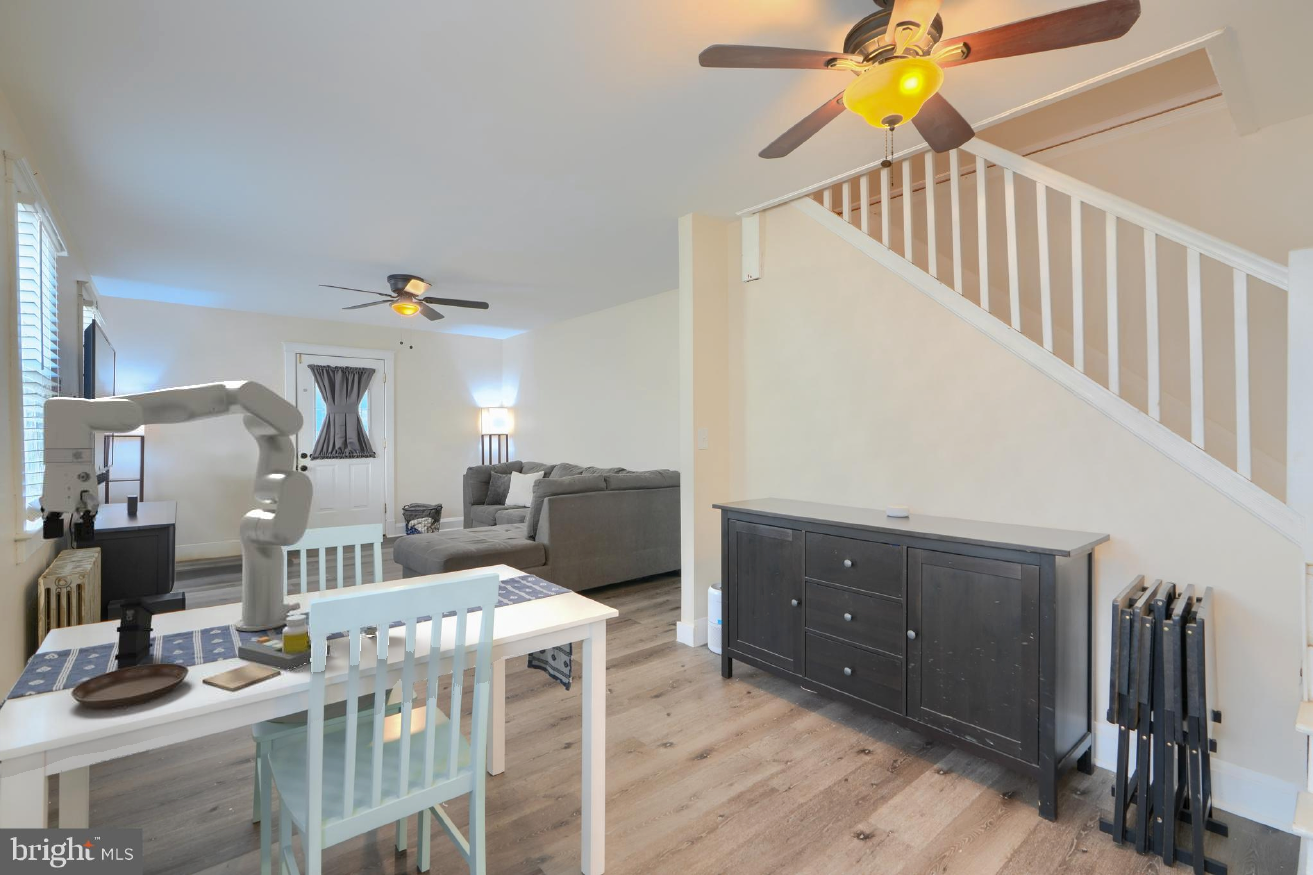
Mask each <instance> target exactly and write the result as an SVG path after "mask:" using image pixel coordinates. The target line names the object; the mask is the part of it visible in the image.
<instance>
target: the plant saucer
mask: <svg viewBox="0 0 1313 875" xmlns="http://www.w3.org/2000/svg"><path fill="white" fill-rule="evenodd" d="M188 674H189V668H188V667H187V666H185V665H183V664H180V663H171V662H170V663H168V662H166V663H163V662H162V663H149V664H148V663H147V664H141V665H140V664H139V665H138V666H133V667H128V668H124V669H119V670H118V669H117V670H112V671H109V672H105V673H102V674H99V675H96V676H94V677H91V678H89V679H86V680H85V681H82V682H81V683H79V684H78V685H76V686H75V687H74V688H72V691H71V692H70V695H71V697H72V698H73V699H74V700H75V701H76V702H78V703H79V704H81V705H82V706H84V707H86V708H89V709H90V710H91V709H92V710H113V709H114V708H115V709H122V708H127V707H132V706H135V705H141V704H144V703H148V702H151V701H154V700H156V699H159V698H163V697H164V696H166V695H168V694H170V693H171V692H173V691H175V690H176V688H178V687H179V686H180V685H181V683H182V682H183V681H184V680H185V678H186V676H188Z"/></svg>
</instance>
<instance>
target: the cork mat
mask: <svg viewBox="0 0 1313 875" xmlns="http://www.w3.org/2000/svg"><path fill="white" fill-rule="evenodd" d="M279 673H280V674H281V670H279V669H274V668H270V667H267V666H264V665H263V666H262V665H259V664H255V663H248V664H245V665H241V666H239V667H236V668H233V669H231V670H227V671H224V672H222V673H221V672H220V673H219V674H215V675H213V676H209V677H206V678H203V679H202V681H201V682H202V683H203V684H207V685H209V686H210V685H211V686H212V687H213V686H214V687H217V688H221V689H223V690H226V691H231V692H234V691H236V690H239V688H240V689H241V688H245V687H247V686H250V685H253V684H256V683H258V681H259V682H261V681H264V680H267V679H269V677H270V676H272V677H275V676H277V675H276V674H278V675H280V674H279ZM274 675H275V676H274ZM266 678H267V679H266ZM270 678H271V677H270ZM263 679H264V680H263Z"/></svg>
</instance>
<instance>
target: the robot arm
mask: <svg viewBox="0 0 1313 875" xmlns="http://www.w3.org/2000/svg"><path fill="white" fill-rule="evenodd" d="M236 414H238V415H239V414H241V415H242V414H243V416H242V422H243V426H244V427H245V429H246V430H247V431H248V433H249V434H250V435H251V436H252V437H253V438H254V440H255V441H256V444H257V446H258V450H259V454H258V462H257V467H256V472H255V475H254V476H255V477H254V482H253V488H252V496H253V497H254V499H255V500H256V501H257V502H259V503H262V504H267V505H276V506H275V509H273V508H256V509H253V510H250V511H248V512H247V513H246V514H244V516H243V517H242V518H241V520H240V521H239V524H238V537H239V540H240V546H241V552H242V553H241V554H242V576H241V577H242V579H241V580H242V582H241V585H242V586H241V588H242V591H241V592H242V593H241V604H242V605H241V619H239V620H237V621H236V622H235V623H234V629H235V630H237V631H240V632H241V631H242V632H257V631H266V630H270V629H275V628H279V627H282V626H284V625H286V619H287V618H288V617H290V615H288V614H289V613H290V612H294V611H297V610H300V608H301V604H300V602H296V603H295V602H294V603H291V604H290V603H284V601H285V600H284V599H285V598H284V594H285V593H284V591H285V590H284V586H285V585H284V584H285V583H284V582H285V580H284V579H285V556H284V551H283V548H282V547H290V546H294V545H296V544H297V543H299V542H300V540H302V538H303V537H304V535H305V533H306V531H307V527H308V522H309V517H310V512H311V506H312V501H313V495H314V486H313V483H312V480H311V479H310V477H309V476H308V475H307V473H304V472H302V471H299V470H294V466H295V465H294V464H295V459H296V458H295V457H296V449H295V444H294V443H293V440H292V438H291V437H292V436H294V435H296V434H298V433H300V431H301V430H302V428H303V427H304V416H303V415H302V412H301V411H300V409H298V408H297V407H296V406H295V405H294V404H292V403H291V402H289V401H288V400H287V399H285V398H284V397H282V396H280V395H279V394H278V393H276V392H275V391H273V390H271V389H270V388H268V387H267V386H265V385H263V384H261V383H259V382H257V381H253V380H230V381H229V380H228V381H219V382H212V383H205V384H198V385H197V384H196V385H190V386H180V387H173V388H165V389H160V390H155V391H148V392H140V393H131V394H124V395H123V394H122V395H116V396H108V397H101V398H95V399H88V398H79V397H78V398H77V397H50V398H48V399H46V400H45V401H44V402H43V414H42V415H43V429H42V430H43V434H42V436H43V439H42V440H43V441H42V442H43V446H42V447H43V450H42V453H43V455H42V456H43V457H42V464H43V466H45V467H44V472H43V479H42V494H41V496H40V497H39V498H38V502H39V505H40V508H39V511H40V512H41V513H42V515H41V520H42V523H43V524H42V538H43V540H52V539H60V538H63V537H65V518H63V517H62V516H63V515H64V514H72V515H73V518H74V519H75V521H76V522H73V542H74V543H84V542H91V541H94V539H95V522H96V520H97V515H98V513H99V511H98V509H99V507H100V505H101V501H100V500H99V499H100V498H99V484H98V476H97V471H96V470H97V469H96V468H95V464H94V463H95V455H94V453H95V434H127V433H132V432H133V431H136V430H138V429H139V428H141V426H145V425H148V426H149V425H162V424H163V425H170V424H171V425H173V424H182V423H183V424H185V423H190V422H195V421H201V420H207V419H211V418H219V417H223V416H229V415H236Z"/></svg>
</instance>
